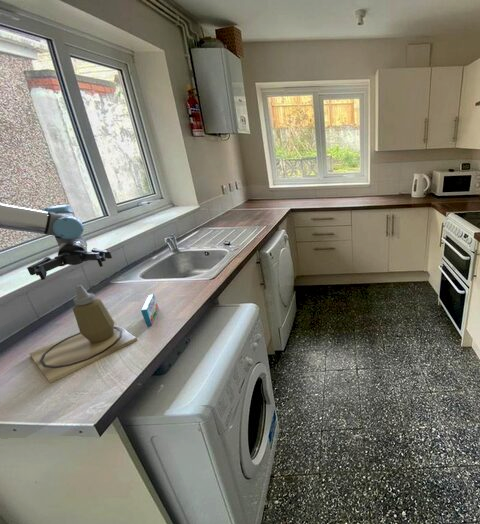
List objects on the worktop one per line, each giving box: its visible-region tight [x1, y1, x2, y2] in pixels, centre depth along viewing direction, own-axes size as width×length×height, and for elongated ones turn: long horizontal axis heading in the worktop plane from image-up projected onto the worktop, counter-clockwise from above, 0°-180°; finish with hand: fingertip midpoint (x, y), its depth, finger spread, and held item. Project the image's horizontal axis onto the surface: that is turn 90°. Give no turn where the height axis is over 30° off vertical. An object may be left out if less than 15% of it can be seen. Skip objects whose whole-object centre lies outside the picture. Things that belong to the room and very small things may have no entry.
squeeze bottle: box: [72, 284, 115, 342], centre depth 86 cm, size 8×8×18 cm
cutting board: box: [29, 321, 138, 384], centre depth 86 cm, size 20×20×1 cm
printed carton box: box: [140, 293, 160, 327], centre depth 99 cm, size 12×2×6 cm, turn 23°
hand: (71, 268), depth 89 cm, fingers open, 13 cm apart
